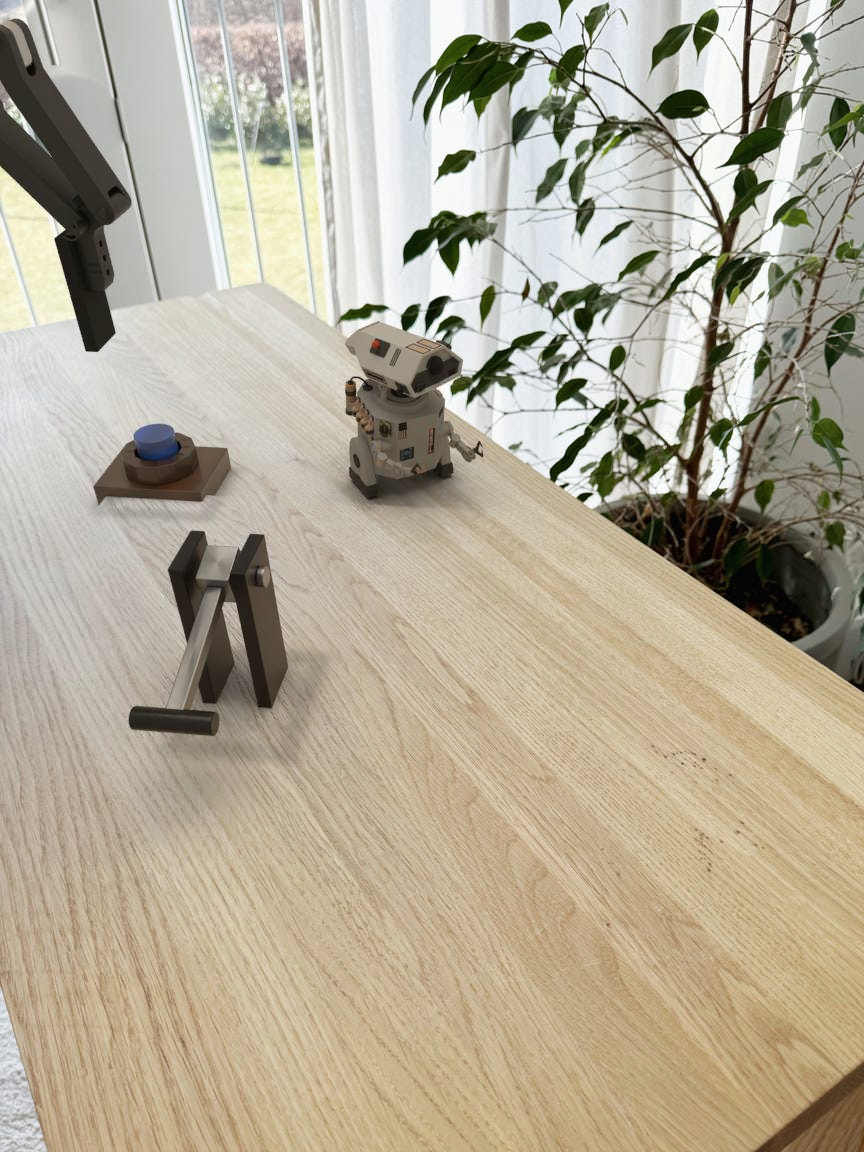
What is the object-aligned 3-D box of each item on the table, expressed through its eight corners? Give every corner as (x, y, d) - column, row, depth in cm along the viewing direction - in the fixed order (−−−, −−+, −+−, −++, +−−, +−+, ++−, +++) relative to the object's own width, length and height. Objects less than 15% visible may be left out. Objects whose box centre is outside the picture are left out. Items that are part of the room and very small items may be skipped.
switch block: (98, 507, 92) (87, 469, 89) (132, 462, 98) (122, 425, 95) (204, 513, 91) (196, 474, 88) (231, 467, 97) (224, 430, 94)
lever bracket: (284, 751, 68) (255, 603, 60) (171, 742, 69) (126, 595, 61) (319, 655, 76) (298, 511, 67) (217, 648, 76) (182, 505, 68)
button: (132, 462, 91) (126, 441, 89) (147, 442, 93) (141, 422, 92) (170, 464, 90) (165, 443, 89) (184, 444, 93) (179, 424, 92)
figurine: (393, 532, 88) (381, 373, 78) (343, 473, 96) (326, 320, 86) (484, 504, 91) (483, 348, 82) (429, 449, 99) (421, 300, 89)
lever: (217, 744, 59) (206, 724, 57) (136, 738, 60) (122, 717, 58) (268, 571, 67) (260, 547, 65) (195, 566, 67) (185, 543, 65)
